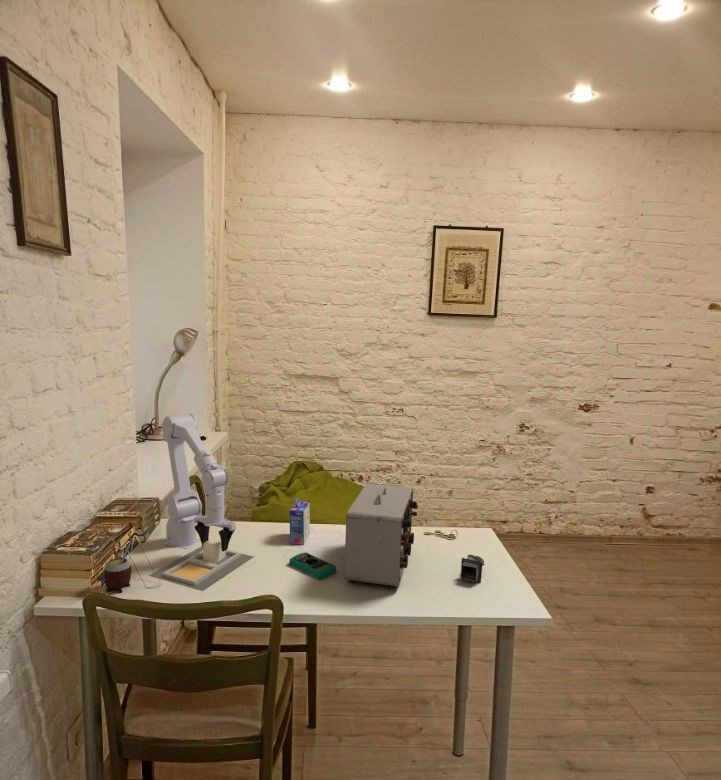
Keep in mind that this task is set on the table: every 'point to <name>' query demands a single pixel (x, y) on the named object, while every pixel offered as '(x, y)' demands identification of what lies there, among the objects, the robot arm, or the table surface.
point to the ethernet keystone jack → (472, 568)
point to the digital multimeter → (312, 565)
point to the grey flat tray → (200, 569)
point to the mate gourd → (118, 572)
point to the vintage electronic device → (379, 534)
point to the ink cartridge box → (299, 522)
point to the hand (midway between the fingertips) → (214, 547)
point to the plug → (213, 550)
